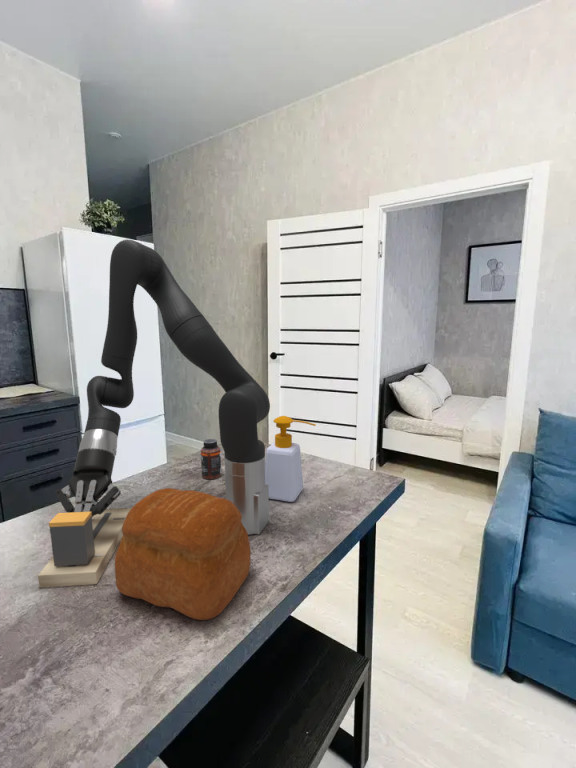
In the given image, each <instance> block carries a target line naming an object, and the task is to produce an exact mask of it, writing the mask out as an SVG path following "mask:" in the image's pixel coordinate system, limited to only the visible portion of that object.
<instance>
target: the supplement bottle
mask: <svg viewBox="0 0 576 768" xmlns="http://www.w3.org/2000/svg"><path fill="white" fill-rule="evenodd" d="M200 463H201V464H200V466H201V468H200V469H201V477H202V478H203V479H206V480H215V479H218V478H220V477H221V476H222V456H221V448H220V446H218V440H217V439H215V438H208V439H205V440H203V446H202V447H201V449H200Z"/></svg>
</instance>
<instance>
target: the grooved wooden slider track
mask: <svg viewBox="0 0 576 768" xmlns="http://www.w3.org/2000/svg"><path fill="white" fill-rule="evenodd" d="M131 509H132V507H124V508H107V509H106V510H105V511H104V512H103V513H102V514H97V515H94V516H93V517H92V526H93V536H94V547H95V554H94V556H93V557H92V559H91V560H90V562H89V564H84V565H67V566H54V559H53V556H52V557H51V558H50V560H49V561H48V562H47V563H46V565H45V566H44V567H43V569H42V570H41V571H40V572H39V574H38V575H37V578H38V586H39V589H40V588H42V589H45V588H54V587H55V588H56V587H58V588H59V587H73V586H86V585H88V586H90V585H97V584H98V582H99V581H100V579H101V577H102V575H103V574H104V572H105V570H106V569H107V566H108V564H110V563H109V562H110V561H111V559H112V558H113V555H114V553H116V551H117V549H118V547H119V545H120V542H121V540H122V537H123V532H122V527H123V523H124V521H125V519H126V516H127V514H128V512H129V511H130V510H131Z"/></svg>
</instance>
